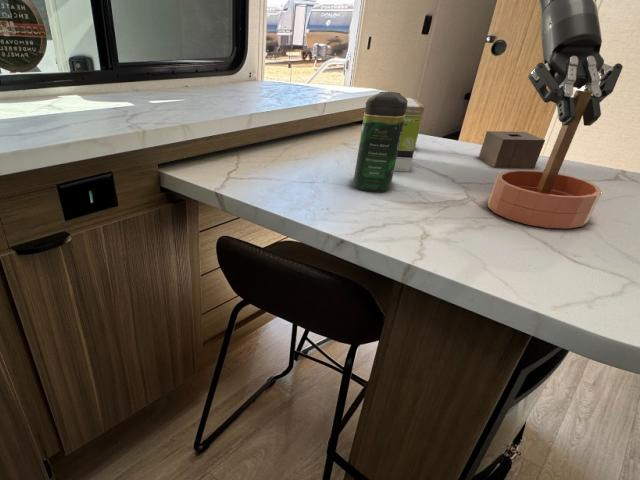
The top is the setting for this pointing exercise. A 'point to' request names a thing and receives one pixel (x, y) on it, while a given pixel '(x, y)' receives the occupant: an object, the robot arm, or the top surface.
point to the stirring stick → (563, 144)
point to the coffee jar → (379, 141)
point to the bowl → (543, 199)
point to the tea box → (409, 135)
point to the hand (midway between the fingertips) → (580, 122)
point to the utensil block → (511, 149)
